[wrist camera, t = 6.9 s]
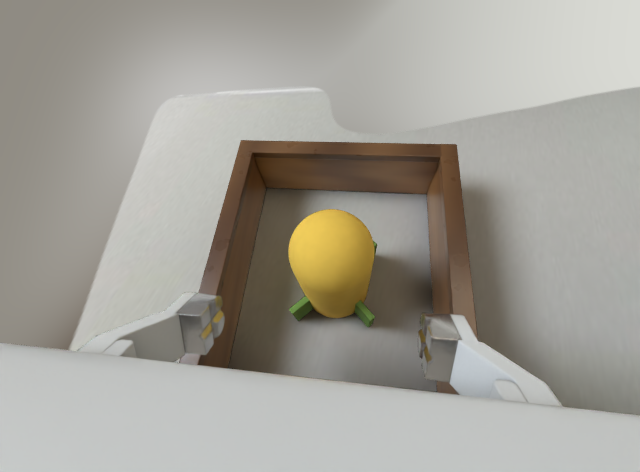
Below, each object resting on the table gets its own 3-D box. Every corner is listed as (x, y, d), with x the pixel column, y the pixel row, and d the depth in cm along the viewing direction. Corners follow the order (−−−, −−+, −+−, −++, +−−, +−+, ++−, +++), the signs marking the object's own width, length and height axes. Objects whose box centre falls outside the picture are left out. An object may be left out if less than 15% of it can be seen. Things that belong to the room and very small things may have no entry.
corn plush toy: (374, 254, 22) (387, 187, 14) (372, 327, 20) (386, 294, 12) (304, 250, 23) (281, 183, 15) (294, 320, 21) (262, 284, 13)
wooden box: (438, 184, 24) (456, 144, 20) (458, 455, 17) (494, 480, 12) (257, 178, 26) (240, 139, 22) (201, 419, 18) (159, 430, 14)
